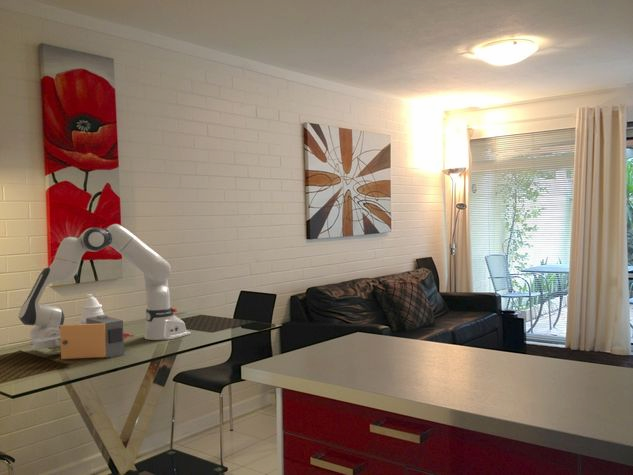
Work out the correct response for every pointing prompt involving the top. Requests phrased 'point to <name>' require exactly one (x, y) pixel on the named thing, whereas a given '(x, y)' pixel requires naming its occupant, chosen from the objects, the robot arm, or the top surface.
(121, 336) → the block
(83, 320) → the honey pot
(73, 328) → the side door
